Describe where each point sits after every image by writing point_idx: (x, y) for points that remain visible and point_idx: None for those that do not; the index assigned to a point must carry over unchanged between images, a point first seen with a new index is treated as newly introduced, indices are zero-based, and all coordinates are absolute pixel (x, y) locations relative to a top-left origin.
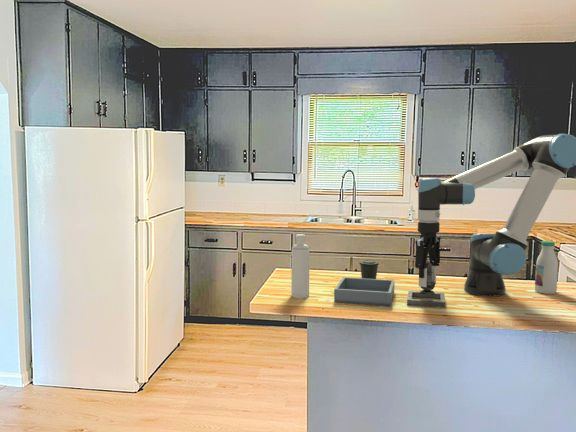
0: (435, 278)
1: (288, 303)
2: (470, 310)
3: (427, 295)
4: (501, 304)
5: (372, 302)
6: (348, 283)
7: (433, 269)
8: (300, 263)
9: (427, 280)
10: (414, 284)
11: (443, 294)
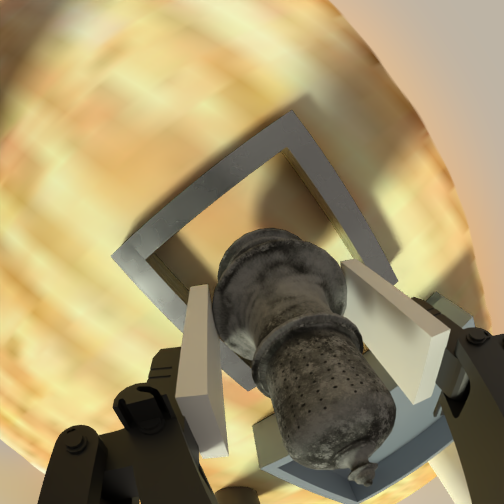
0: (195, 307)
1: None
2: (211, 18)
3: None
4: (19, 35)
5: None
6: (348, 488)
7: (211, 381)
8: None
9: (325, 297)
10: None
11: (137, 239)
